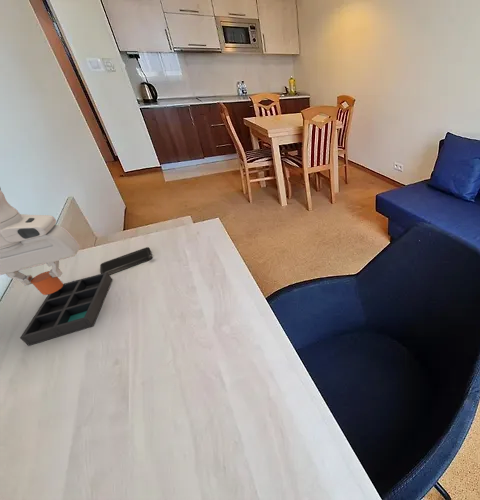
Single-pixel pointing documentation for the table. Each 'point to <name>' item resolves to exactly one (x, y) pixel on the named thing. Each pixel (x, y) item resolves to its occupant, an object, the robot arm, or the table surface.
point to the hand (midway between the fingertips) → (44, 279)
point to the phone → (126, 261)
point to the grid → (68, 309)
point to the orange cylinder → (46, 283)
